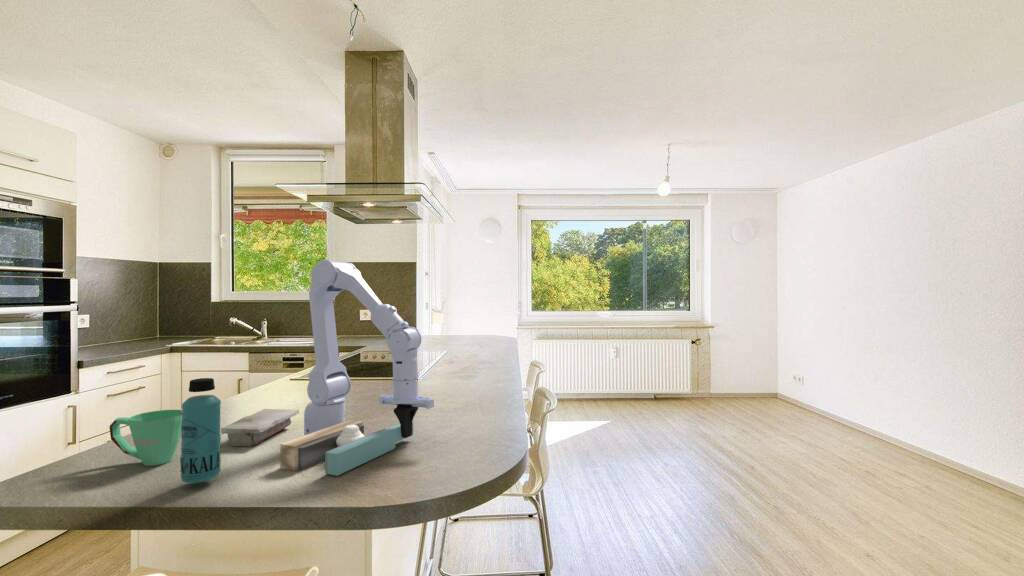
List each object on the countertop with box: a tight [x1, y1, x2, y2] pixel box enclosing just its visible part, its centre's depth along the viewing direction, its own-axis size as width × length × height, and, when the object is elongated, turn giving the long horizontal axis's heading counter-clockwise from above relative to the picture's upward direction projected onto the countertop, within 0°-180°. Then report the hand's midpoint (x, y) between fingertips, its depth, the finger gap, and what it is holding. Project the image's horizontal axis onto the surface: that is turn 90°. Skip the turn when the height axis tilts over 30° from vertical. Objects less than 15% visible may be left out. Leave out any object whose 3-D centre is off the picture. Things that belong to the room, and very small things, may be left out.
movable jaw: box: [324, 421, 414, 477], centre depth 106 cm, size 3×25×4 cm, turn 156°
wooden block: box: [279, 419, 365, 472], centre depth 107 cm, size 5×20×5 cm, turn 156°
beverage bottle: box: [179, 377, 222, 484], centre depth 91 cm, size 6×7×20 cm
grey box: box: [220, 408, 300, 447], centre depth 121 cm, size 18×5×10 cm
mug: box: [108, 409, 182, 467], centre depth 103 cm, size 15×10×10 cm
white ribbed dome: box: [336, 424, 366, 447], centre depth 106 cm, size 6×6×7 cm
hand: (406, 436), depth 113 cm, fingers closed, pressing on movable jaw
